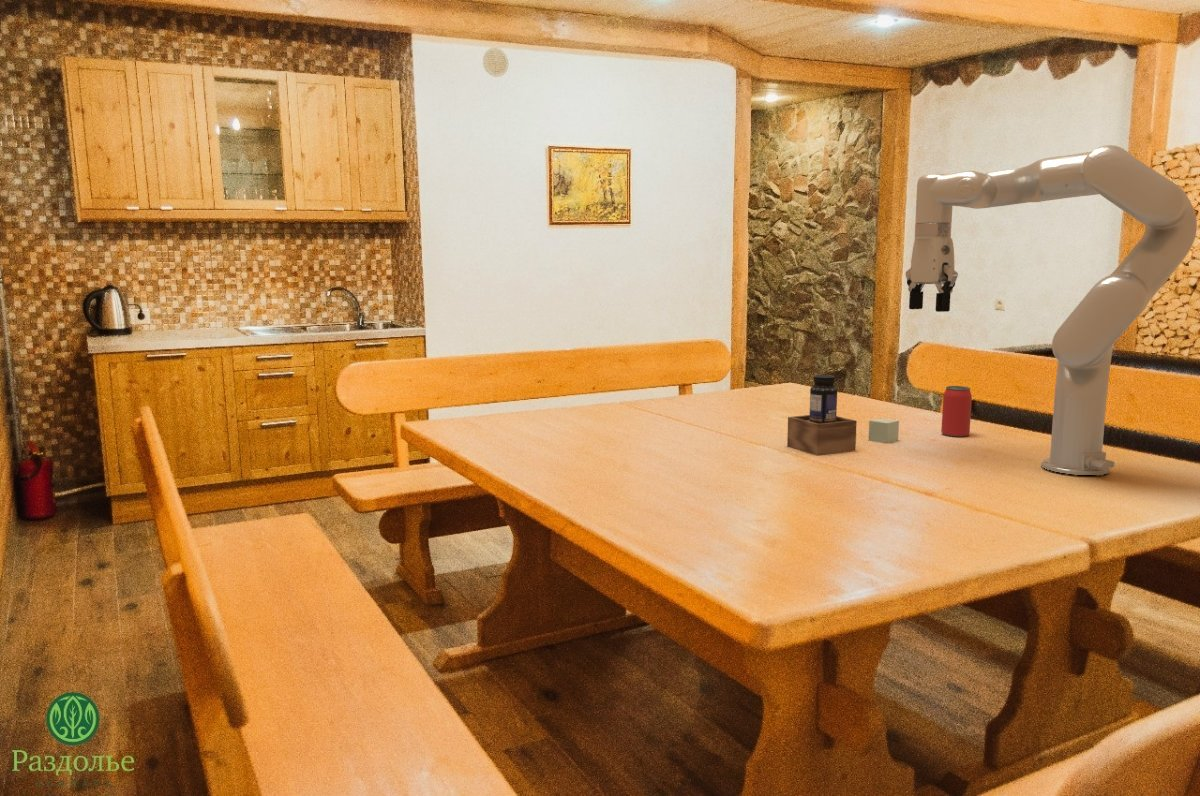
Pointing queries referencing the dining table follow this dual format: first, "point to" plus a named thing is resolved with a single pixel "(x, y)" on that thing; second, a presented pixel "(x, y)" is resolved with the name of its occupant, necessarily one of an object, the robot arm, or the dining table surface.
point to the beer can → (956, 411)
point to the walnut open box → (821, 435)
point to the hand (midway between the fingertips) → (928, 310)
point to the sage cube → (883, 430)
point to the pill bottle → (823, 400)
